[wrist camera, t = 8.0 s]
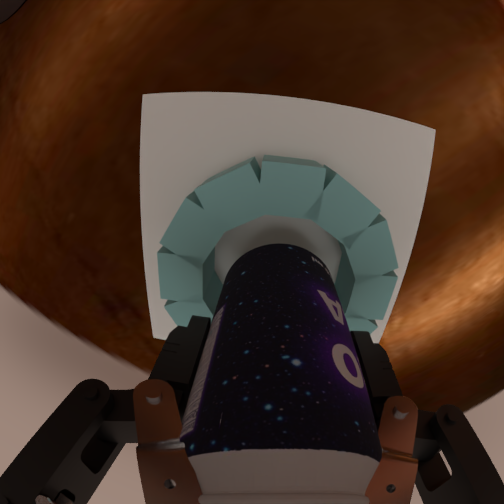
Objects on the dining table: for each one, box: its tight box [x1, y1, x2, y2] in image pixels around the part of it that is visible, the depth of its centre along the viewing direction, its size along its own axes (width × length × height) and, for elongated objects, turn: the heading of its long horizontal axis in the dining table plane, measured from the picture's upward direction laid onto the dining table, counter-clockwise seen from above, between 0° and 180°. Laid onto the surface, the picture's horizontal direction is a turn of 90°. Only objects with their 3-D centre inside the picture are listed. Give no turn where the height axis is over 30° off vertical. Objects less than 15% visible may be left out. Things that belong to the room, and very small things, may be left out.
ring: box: [157, 155, 399, 334], centre depth 17 cm, size 13×13×4 cm
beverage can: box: [179, 243, 382, 504], centre depth 10 cm, size 6×6×12 cm
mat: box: [140, 92, 436, 343], centre depth 18 cm, size 18×18×1 cm
